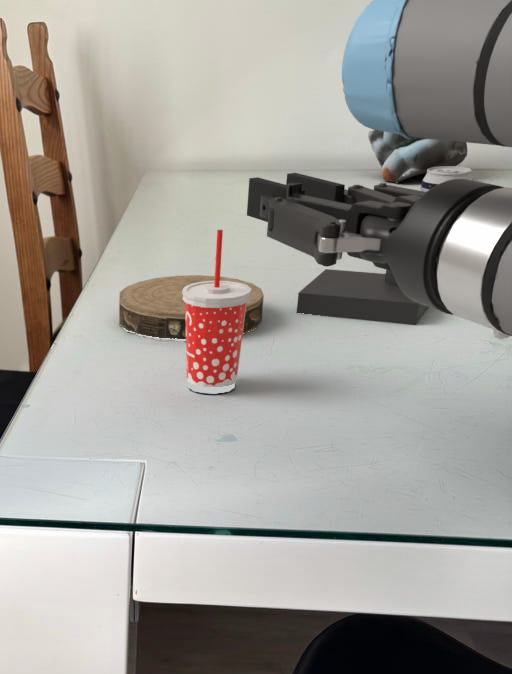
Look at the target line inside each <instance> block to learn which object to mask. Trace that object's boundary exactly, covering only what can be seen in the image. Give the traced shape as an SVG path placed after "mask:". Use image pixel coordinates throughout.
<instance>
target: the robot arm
mask: <svg viewBox="0 0 512 674" xmlns="http://www.w3.org/2000/svg"><path fill="white" fill-rule="evenodd" d="M341 81H342V82H341V83H342V85H343V87H342V91H343V94H344V100H345V103H346V106H347V108H348V110H349V113H351V115H352V116H353V118H354V120H356V121H357V122H358V123H359V124H360V125H362V126H363V127H365V128H368V129H369V130H372V129H374V130H379V131H384V132H390V133H395V134H400V135H401V136H403V137H405V138H406V139H415V138H427V139H437V140H447V141H458V142H466V143H467V144H468V143H469V144H477V145H478V144H480V145H490V146H497V147H498V146H499V147H506V148H512V0H371V1H370V2H369V3H368V4H367V5H366V6H365V7H364V9H363V10H362V12H361V13H360V15H358V17H357V19H356V20H355V22H354V24H353V26H352V28H351V31H350V33H349V35H348V38H347V41H346V44H345V48H344V51H343V57H342V63H341ZM246 216H248V217H251V218H254V219H256V220H260V221H263V222H266V223H267V228H266V237H267V238H270V239H272V240H273V241H276V242H279V243H281V244H282V245H285V246H288V247H290V248H292V249H295V250H297V251H299V252H301V253H304V254H306V255H307V256H309V257H312V258H314V260H315V262H316V263H317V264H318V265H320V266H323V267H331V266H334V265H337V261H341V260H342V259H343V253H346V254H347V256H349V257H350V258H351V257H352V258H355V259H360V260H362V261H367V262H371V263H372V264H373V265H374V267H376V268H379V269H382V270H385V271H386V270H391V271H392V273H393V275H394V277H395V280H396V282H397V284H398V286H399V288H400V289H401V291H402V292H403V293H404V294H405V295H406V296H407V297H408V298H409V299H411V300H412V301H414V302H417V303H419V304H422V305H425V306H428V307H429V308H430V309H433V310H436V311H439V312H442V313H444V314H448V315H450V316H451V315H452V316H457V317H458V318H460V319H463V320H466V321H468V322H472V323H475V324H476V325H480V326H483V327H486V328H489V329H491V330H493V336H494V338H495V339H498V340H503V339H508V338H510V337H512V187H507V186H506V187H505V186H502V185H497V184H492V183H488V182H482V181H477V180H474V179H472V180H468V179H453V180H448V181H445V182H443V183H440V184H438V185H436V186H434V187H433V188H431V189H430V190H428V191H427V192H424V191H420V190H417V189H413V188H408V187H403V186H402V187H401V186H398V185H397V186H396V185H391V184H387V183H386V182H379V184H375V185H374V186H373V189H372V188H369V187H366V186H364V185H361V184H353V185H351V186H348V187H347V189H346V184H344V183H338V182H335V181H330V180H327V179H322V178H319V177H314V176H311V175H306V174H302V173H299V172H290V173H286V183H285V184H284V183H282V182H277V181H274V180H269V179H266V178H262V177H250V178H248V192H247V205H246Z"/></svg>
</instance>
